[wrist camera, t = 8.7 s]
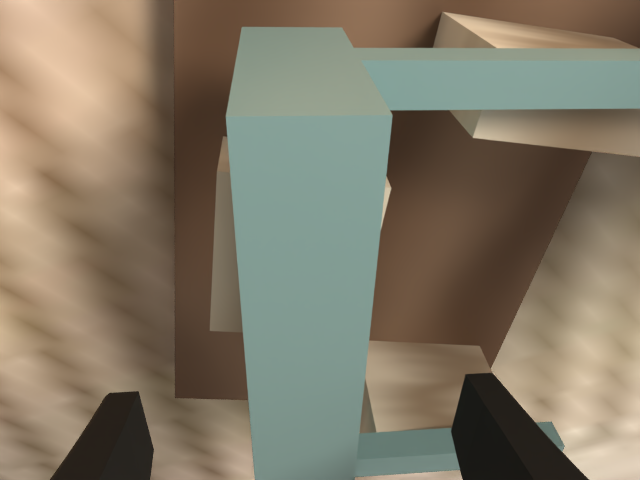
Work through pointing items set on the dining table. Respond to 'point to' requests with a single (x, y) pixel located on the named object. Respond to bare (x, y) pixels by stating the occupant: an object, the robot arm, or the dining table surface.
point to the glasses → (352, 220)
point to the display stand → (397, 193)
